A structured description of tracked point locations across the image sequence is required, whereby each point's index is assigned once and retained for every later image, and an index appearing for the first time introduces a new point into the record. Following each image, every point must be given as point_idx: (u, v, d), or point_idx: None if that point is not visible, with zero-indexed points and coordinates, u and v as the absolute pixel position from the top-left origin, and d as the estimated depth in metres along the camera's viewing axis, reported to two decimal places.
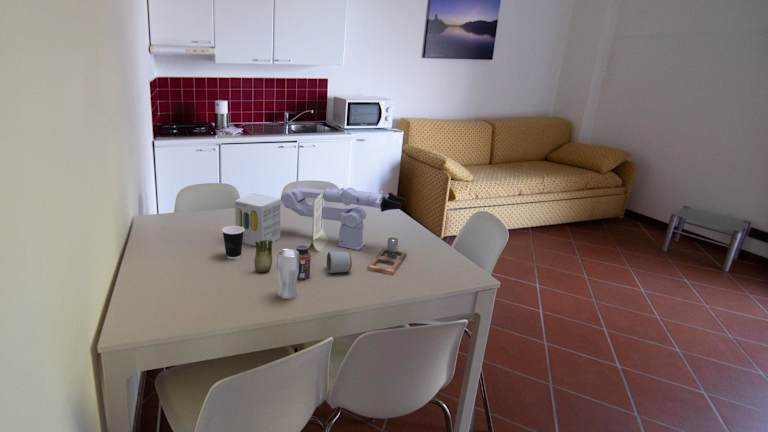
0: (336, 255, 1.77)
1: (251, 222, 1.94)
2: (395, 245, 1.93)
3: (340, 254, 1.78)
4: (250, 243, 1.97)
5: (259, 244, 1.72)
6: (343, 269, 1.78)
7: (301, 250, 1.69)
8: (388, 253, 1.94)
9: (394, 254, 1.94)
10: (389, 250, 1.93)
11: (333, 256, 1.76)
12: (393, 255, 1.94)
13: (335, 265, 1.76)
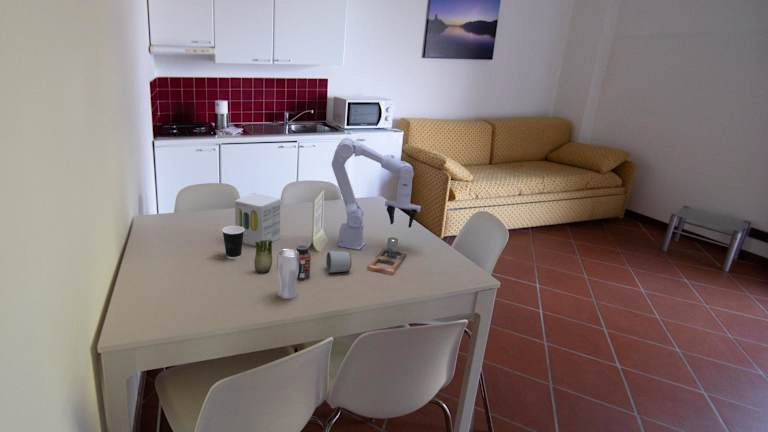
0: (336, 254, 1.77)
1: (251, 222, 1.94)
2: (395, 245, 1.93)
3: (340, 254, 1.78)
4: (250, 243, 1.97)
5: (259, 244, 1.72)
6: (343, 269, 1.78)
7: (301, 250, 1.69)
8: (388, 253, 1.94)
9: (394, 254, 1.94)
10: (389, 250, 1.93)
11: (333, 256, 1.76)
12: (393, 255, 1.94)
13: (334, 265, 1.76)
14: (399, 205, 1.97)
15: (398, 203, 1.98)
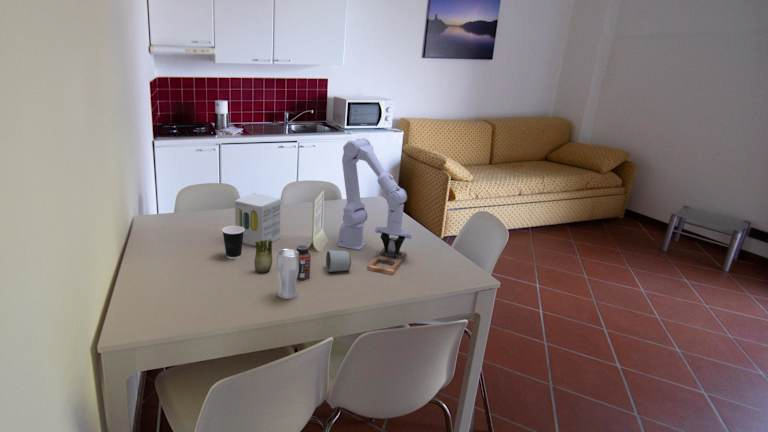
0: (335, 253, 1.78)
1: (251, 222, 1.94)
2: (395, 245, 1.93)
3: (339, 253, 1.79)
4: (250, 243, 1.97)
5: (259, 244, 1.72)
6: (342, 268, 1.78)
7: (301, 250, 1.69)
8: (388, 253, 1.94)
9: (394, 254, 1.94)
10: (389, 250, 1.93)
11: (332, 255, 1.77)
12: (393, 255, 1.94)
13: (334, 264, 1.76)
14: (390, 232, 1.90)
15: (389, 230, 1.90)
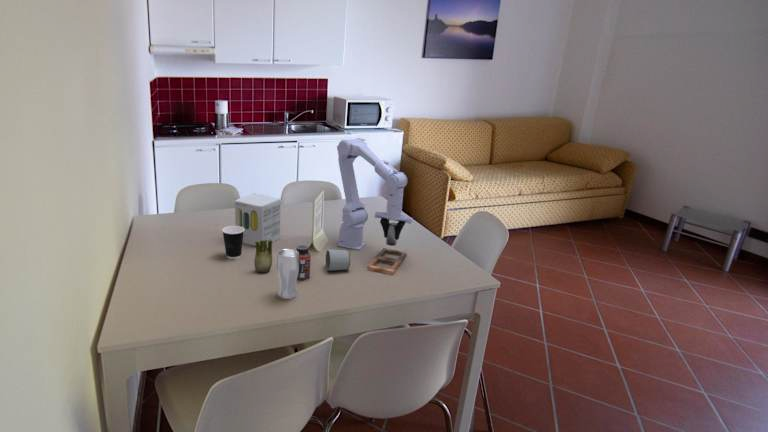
0: (335, 253, 1.78)
1: (251, 222, 1.94)
2: (395, 230, 1.88)
3: (339, 252, 1.79)
4: (250, 243, 1.97)
5: (259, 244, 1.72)
6: (342, 267, 1.79)
7: (301, 250, 1.69)
8: (388, 238, 1.90)
9: (394, 239, 1.89)
10: (389, 235, 1.89)
11: (332, 254, 1.78)
12: (393, 241, 1.89)
13: (334, 263, 1.77)
14: (389, 217, 1.86)
15: (388, 215, 1.86)
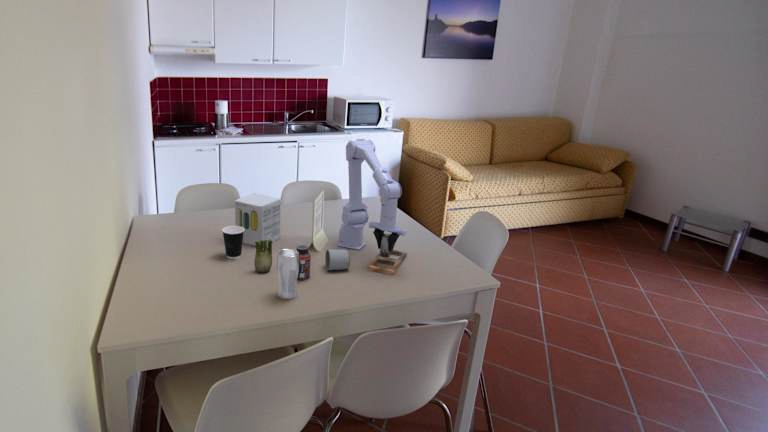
0: (334, 252, 1.79)
1: (251, 222, 1.94)
2: (388, 242, 1.82)
3: (339, 252, 1.80)
4: (250, 243, 1.97)
5: (259, 244, 1.72)
6: (342, 267, 1.80)
7: (301, 250, 1.69)
8: (381, 250, 1.84)
9: (387, 251, 1.83)
10: (382, 247, 1.83)
11: (332, 253, 1.78)
12: (386, 252, 1.83)
13: (333, 263, 1.78)
14: (382, 228, 1.80)
15: (381, 225, 1.80)
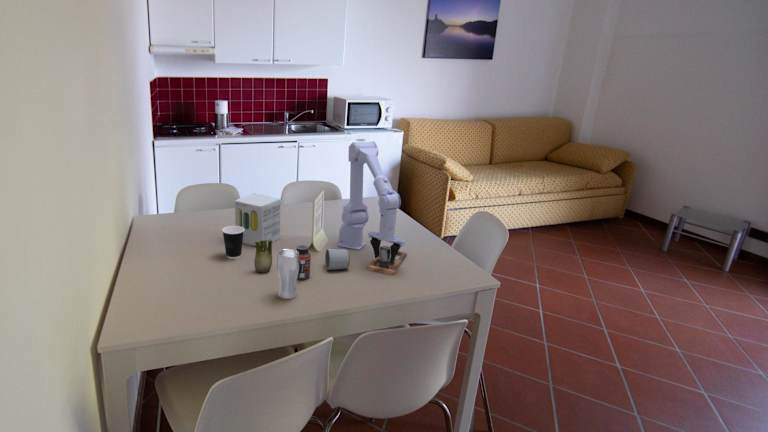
0: (334, 252, 1.79)
1: (251, 222, 1.94)
2: (387, 254, 1.83)
3: (338, 251, 1.80)
4: (250, 243, 1.97)
5: (259, 244, 1.72)
6: (341, 266, 1.80)
7: (301, 250, 1.69)
8: (380, 262, 1.85)
9: (386, 264, 1.85)
10: (381, 259, 1.84)
11: (331, 253, 1.78)
12: (385, 265, 1.85)
13: (333, 262, 1.78)
14: (381, 238, 1.81)
15: (380, 235, 1.81)
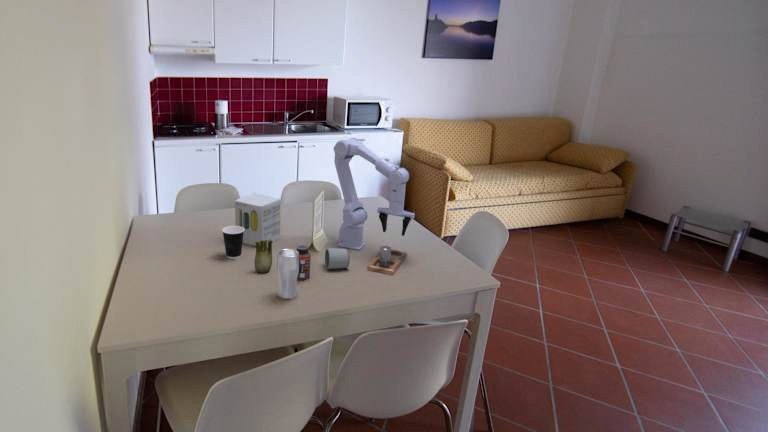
0: (334, 251, 1.80)
1: (251, 222, 1.94)
2: (387, 254, 1.83)
3: (338, 250, 1.81)
4: (250, 243, 1.97)
5: (259, 244, 1.72)
6: (341, 266, 1.80)
7: (301, 250, 1.69)
8: (380, 262, 1.85)
9: (386, 264, 1.85)
10: (381, 259, 1.84)
11: (331, 252, 1.79)
12: (385, 265, 1.85)
13: (333, 262, 1.78)
14: (392, 212, 1.88)
15: (391, 210, 1.88)
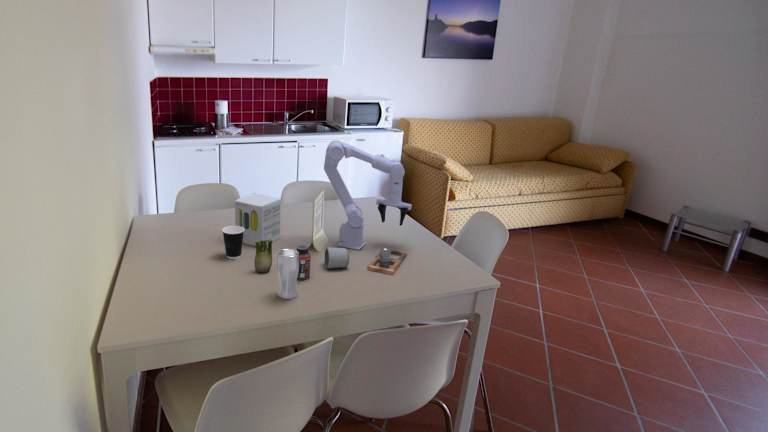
0: (333, 250, 1.80)
1: (251, 222, 1.94)
2: (387, 254, 1.83)
3: (338, 250, 1.81)
4: (250, 243, 1.97)
5: (259, 244, 1.72)
6: (341, 265, 1.81)
7: (301, 250, 1.69)
8: (380, 262, 1.85)
9: (386, 264, 1.85)
10: (381, 259, 1.84)
11: (331, 252, 1.79)
12: (385, 265, 1.85)
13: (332, 261, 1.79)
14: (390, 203, 1.99)
15: (389, 201, 1.99)
